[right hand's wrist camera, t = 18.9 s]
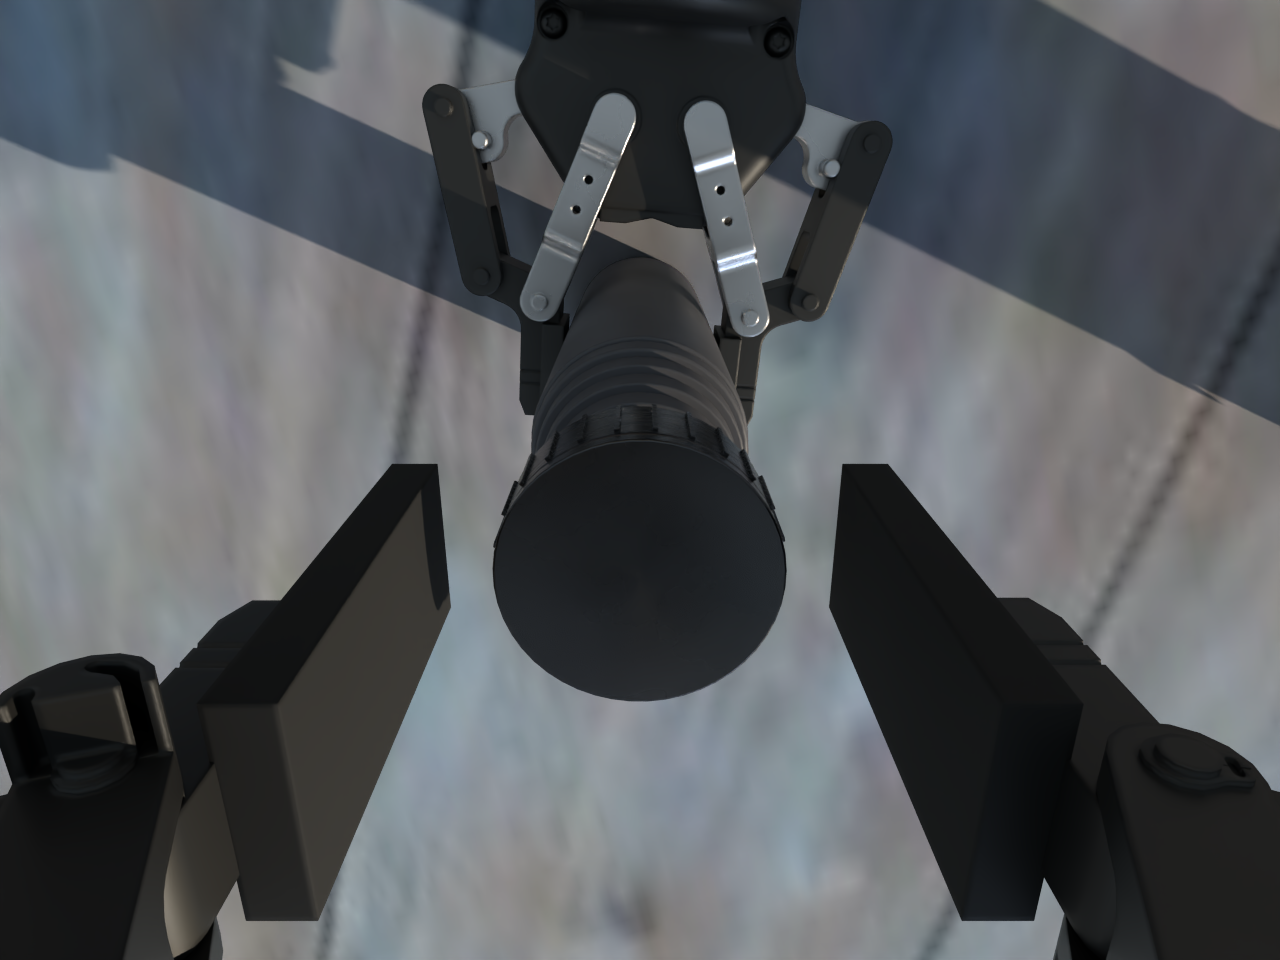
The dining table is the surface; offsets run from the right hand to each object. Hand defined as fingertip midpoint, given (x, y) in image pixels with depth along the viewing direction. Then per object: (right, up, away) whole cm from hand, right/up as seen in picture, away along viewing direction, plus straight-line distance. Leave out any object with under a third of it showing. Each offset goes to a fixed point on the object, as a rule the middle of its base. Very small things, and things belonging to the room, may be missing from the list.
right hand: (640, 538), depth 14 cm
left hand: (0, +3, +14) cm, 14 cm away
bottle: (0, +8, +19) cm, 21 cm away
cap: (0, 0, -1) cm, 1 cm away
